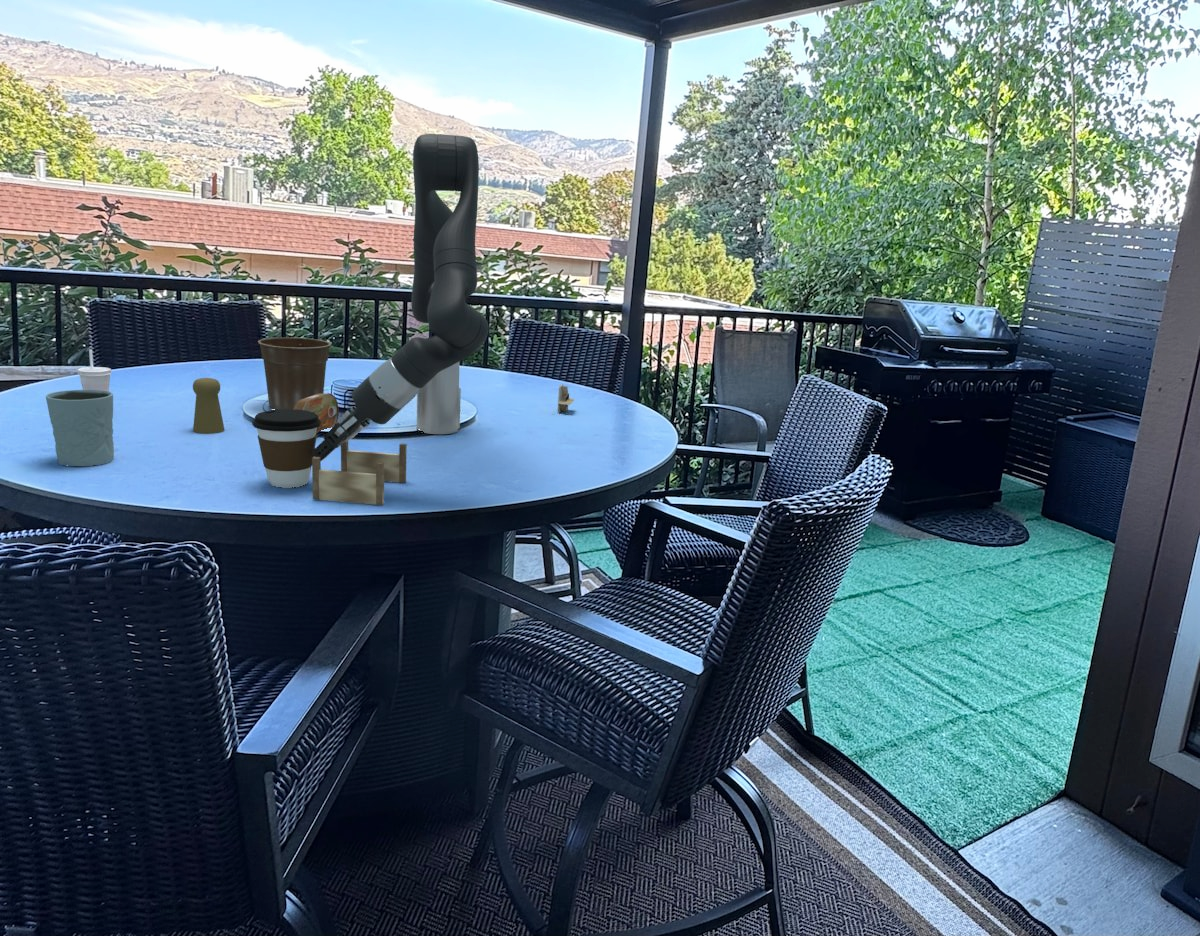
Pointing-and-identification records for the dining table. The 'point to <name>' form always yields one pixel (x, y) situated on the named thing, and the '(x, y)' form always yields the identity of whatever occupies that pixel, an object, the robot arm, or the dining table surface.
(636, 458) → the dining table surface
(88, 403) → the green embossed planter
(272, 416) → the coffee cup
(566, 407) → the architectural model
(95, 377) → the smoothie
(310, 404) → the tin
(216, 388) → the cork
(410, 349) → the robot arm
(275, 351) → the plant pot
